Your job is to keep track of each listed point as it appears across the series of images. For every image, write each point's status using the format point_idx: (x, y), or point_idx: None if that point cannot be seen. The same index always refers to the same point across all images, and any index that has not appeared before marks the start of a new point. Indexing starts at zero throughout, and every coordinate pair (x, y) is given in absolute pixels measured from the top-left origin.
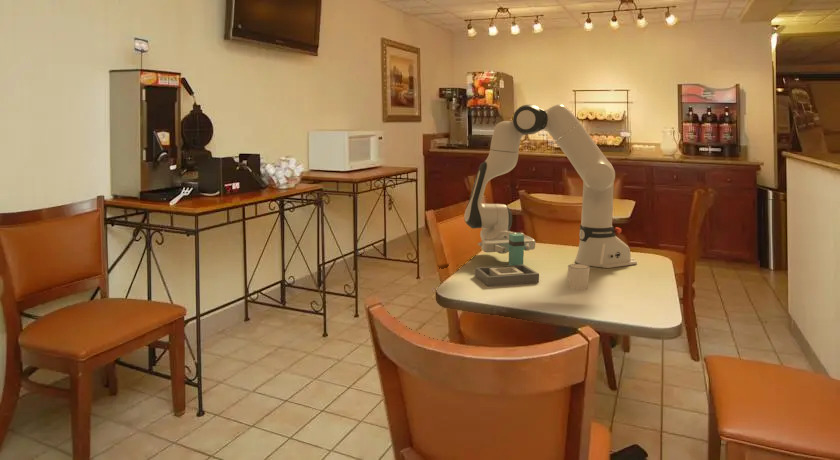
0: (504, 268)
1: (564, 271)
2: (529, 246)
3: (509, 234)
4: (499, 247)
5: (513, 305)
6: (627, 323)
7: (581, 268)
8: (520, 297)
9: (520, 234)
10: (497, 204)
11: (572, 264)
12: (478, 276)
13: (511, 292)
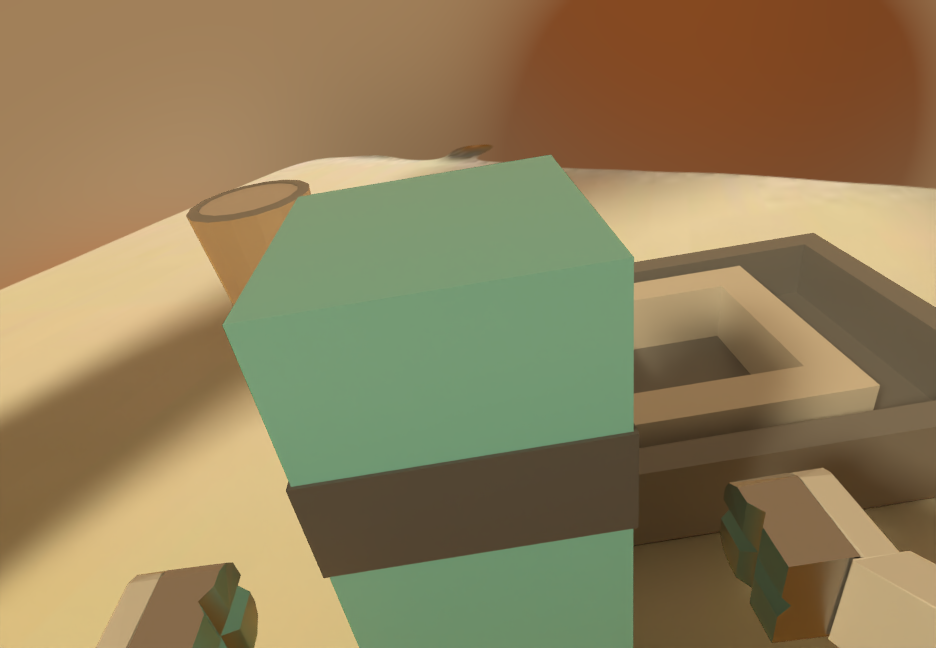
0: (700, 383)
1: (35, 587)
2: (144, 577)
3: (627, 268)
4: (906, 568)
5: (649, 177)
6: (379, 159)
7: (271, 181)
8: (612, 215)
9: (312, 237)
10: None
11: (252, 211)
12: None
13: (649, 243)
